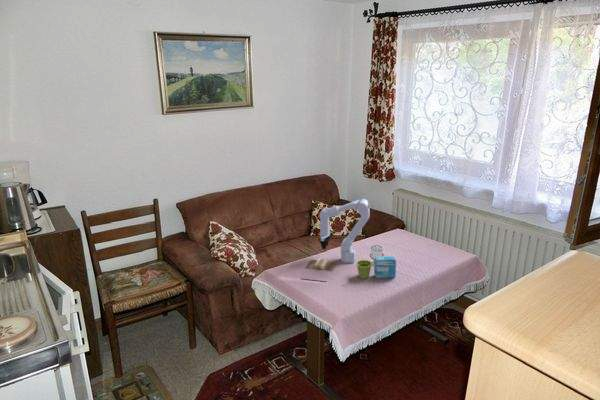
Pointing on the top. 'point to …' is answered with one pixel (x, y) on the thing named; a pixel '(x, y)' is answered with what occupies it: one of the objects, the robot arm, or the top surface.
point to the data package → (385, 267)
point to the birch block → (321, 263)
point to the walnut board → (329, 267)
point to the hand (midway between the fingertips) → (325, 247)
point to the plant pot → (364, 268)
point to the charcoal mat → (314, 280)
